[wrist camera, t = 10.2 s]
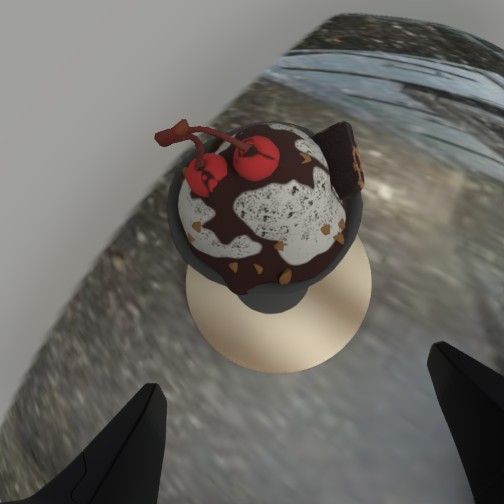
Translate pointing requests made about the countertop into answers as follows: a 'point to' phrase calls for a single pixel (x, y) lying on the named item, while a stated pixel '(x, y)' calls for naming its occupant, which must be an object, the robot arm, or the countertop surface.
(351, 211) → the sundae
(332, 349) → the coaster
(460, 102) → the countertop surface
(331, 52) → the countertop surface
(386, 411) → the countertop surface
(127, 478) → the robot arm
